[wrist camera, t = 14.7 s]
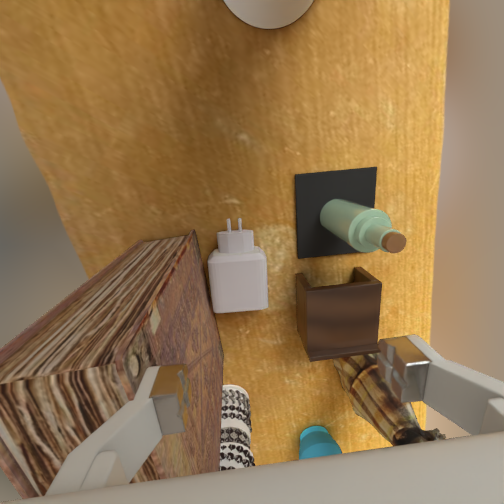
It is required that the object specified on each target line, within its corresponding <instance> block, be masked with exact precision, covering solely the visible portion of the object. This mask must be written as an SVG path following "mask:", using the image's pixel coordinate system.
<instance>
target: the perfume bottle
mask: <svg viewBox="0 0 504 504" xmlns="http://www.w3.org/2000/svg"><path fill="white" fill-rule="evenodd" d="M300 441H301V442H300V450H299V460H301V459H308V458H315V457H322V456H329V455H336V454H342V452H341V449H340V447H339V446H338V444H337V443H336V441H335V440H334V439H333V438H332V437H331V435H330V434H328V431H327V430H326V429H325V428H324V427H321V426H311V427H309V428H307V429H305V430H304V431H303V432H302V433H301V435H300Z"/></svg>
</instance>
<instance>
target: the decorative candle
mask: <svg viewBox="0 0 504 504" xmlns="http://www.w3.org/2000/svg"><path fill="white" fill-rule="evenodd" d="M250 416H251V412H250V404H249V396H248V393H247V392H246V390H245V389H243V388H242V387H240V386H238V385H232V384H228V385H223V387H222V415H221V443H220V471H223V470H230V469H238V468H245V467H252V466H255V464H254V458H253V453H252V452H251V451H250V443H251V439H250V433H251V432H252V428H251V427H250V426H251V420H250Z"/></svg>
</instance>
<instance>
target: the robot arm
mask: <svg viewBox="0 0 504 504" xmlns="http://www.w3.org/2000/svg"><path fill="white" fill-rule="evenodd" d="M223 1H224V2H225V4H226V5H227V6H228V8H229V9H230V10H231V11H232V12H233V13H234V14H235V15H236V16H237V17H238V18H240V19H241V20H242V21H244V22H246V23H248V24H250V25H252V26H255V27H258V28H263V29H276V28H280V27H284V26H286V25H289V24H291V23H292V22H294V21H296V20H297V19H298V18H299V17H301V16H302V15H303V14H304V13H305V12H306V11H307V9H308V8H309V7H310V5H311V4H312V2H313V1H314V0H223ZM378 348H379V349H380V351H381V352H380V353H379V354H378V356H377V365H378V369H379V372H380V374H381V375H382V377H383V378H384V380H386V381H387V382H389V383H391V389H392V391H393V392H394V394H395V395H396V396H397V398H398V399H399V400H400V402H401V403H405V402H415V401H423V402H424V403H425V404H427V405H429V406H430V407H431V408H433V409H434V410H436V411H437V412H439V413H440V414H442V415H443V416H445V417H446V418H448V419H449V420H451V421H452V422H454V423H455V424H457V425H458V426H459V427H461V428H462V429H464V430H465V431H467V432H468V433H470V434H471V435H470V436H463V437H456V438H449V439H442V440H435V441H428V442H421V443H414V444H407V445H400V446H393V447H386V448H379V449H371V450H364V451H357V452H350V453H343V454H336V455H329V456H322V457H315V458H308V459H301V460H294V461H287V462H280V463H273V464H266V465H259V466H252V467H245V468H238V469H230V470H223V471H216V472H209V473H202V474H195V475H188V476H181V477H174V478H167V479H160V480H153V481H146V482H139V483H132V484H129V482H130V481H131V480H132V478H133V477H134V475H135V474H136V473H137V471H138V470H139V469H140V467H141V466H142V465H143V463H144V462H145V460H146V459H147V458H148V456H149V455H150V454H151V452H152V451H153V449H154V448H155V447H156V445H157V444H158V443H159V441H160V440H161V438H162V436H163V435H170V434H176V433H182V432H185V431H186V425H187V420H188V412H187V408H188V407H189V406H190V403H191V382H190V379H189V378H187V374H188V368H187V364H186V363H181V364H171V365H161V366H153V367H148V368H147V369H146V371H145V374H144V376H143V378H142V381H141V383H140V385H139V388H138V390H137V393H136V395H135V397H134V400H132V401H129V402H128V403H126V404H125V405H124V406H123V407H122V408H121V409H120V410H118V411H117V412H116V413H115V414H114V415H113V416H112V417H110V418H109V419H108V420H107V421H106V422H105V423H104V424H102V425H101V426H100V427H99V428H98V429H97V430H96V431H94V432H93V433H92V434H91V435H90V436H89V437H88V438H87V439H85V440H84V441H83V442H82V443H81V444H80V445H79V446H77V447H76V448H75V449H74V450H73V451H72V452H71V453H69V454H68V456H67V457H66V459H65V461H64V463H63V464H62V466H61V468H60V470H59V471H58V473H57V475H56V477H55V478H54V480H53V482H52V484H51V485H50V487H49V489H48V491H47V492H46V494H45V496H40V497H33V498H26V499H20V500H13V501H6V502H0V504H504V382H502V381H500V380H497V379H495V378H492V377H490V376H487V375H485V374H482V373H480V372H477V371H475V370H473V369H470V368H468V367H465V366H463V365H461V364H458V363H456V362H453V361H451V360H445V359H444V358H443V357H442V356H441V355H439V354H438V353H437V352H436V351H435V350H434V349H433V348H432V347H430V346H429V345H428V344H427V343H426V342H425V341H424V340H423V339H422V338H420V337H419V336H418V335H415V334H413V335H407V336H402V337H394V338H386V339H380V340H379V342H378Z"/></svg>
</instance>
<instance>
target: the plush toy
mask: <svg viewBox="0 0 504 504" xmlns="http://www.w3.org/2000/svg"><path fill="white" fill-rule="evenodd" d="M378 354H379V353H375V354H367V355H359V356H351V357H343V358H335V359H333V361H334V366H335V368H336V369H337V371H338V373H339V375H340V378H341V384H342V388H343V389H344V391H345V392H346V393H347V395H348V396H349V398H350V402H351V404H352V407H353V410H354V412H355V413H356V414H357V415H358V416H361V417H362V418H364V419H365V420H366V421H368V422H369V423H370V424H372V425H373V426H374V428H375V429H376V430H377V431H378V432H379V433H380V434H381V435H382V436H383V437H384V438H385V439H386V440H388V441H389V442H390V443H391V444H392V445H393V446H400V445H407V444H414V443H421V442H428V441H435V440H442V439H445V438H446V436H445V434H443V435H442V434H440V433H439V430H438V429H437V428H436V429H434V430H429V431H424V430H421V428H420V425H419V423H418V422H417V418H416V416H415V413H414V410H413V408H412V405H411V402H405V403H401V402H400V400H399V399H398V398H397V396H396V395H395V394H394V392H393V391H392V389H391V383H389V382H387V381H386V380H384V378H383V377H382V375H381V374H380V372H379V369H378V365H377V356H378Z"/></svg>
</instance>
